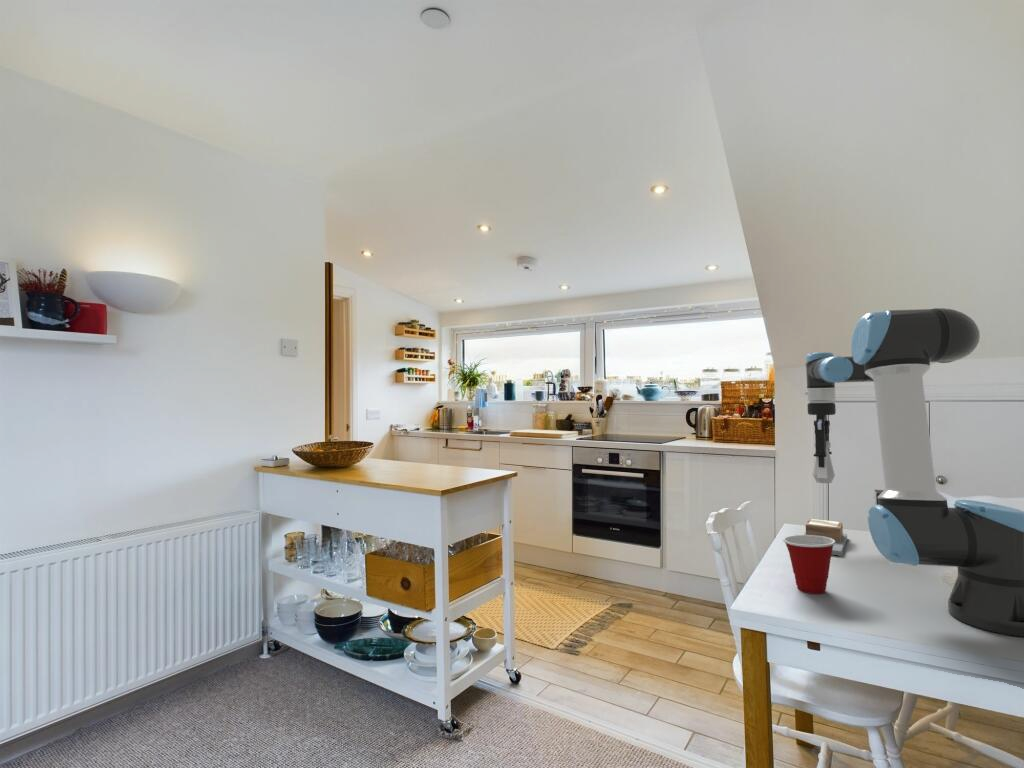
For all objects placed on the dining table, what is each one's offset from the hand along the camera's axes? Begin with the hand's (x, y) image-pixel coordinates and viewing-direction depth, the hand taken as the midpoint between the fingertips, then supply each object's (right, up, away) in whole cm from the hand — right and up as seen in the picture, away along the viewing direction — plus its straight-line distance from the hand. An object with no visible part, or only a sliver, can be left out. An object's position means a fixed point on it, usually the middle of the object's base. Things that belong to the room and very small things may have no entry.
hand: (823, 476), depth 162 cm
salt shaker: (0, -2, 0) cm, 2 cm away
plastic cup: (-27, -20, -39) cm, 52 cm away
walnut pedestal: (0, -19, 0) cm, 19 cm away
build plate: (-2, -20, -3) cm, 21 cm away
